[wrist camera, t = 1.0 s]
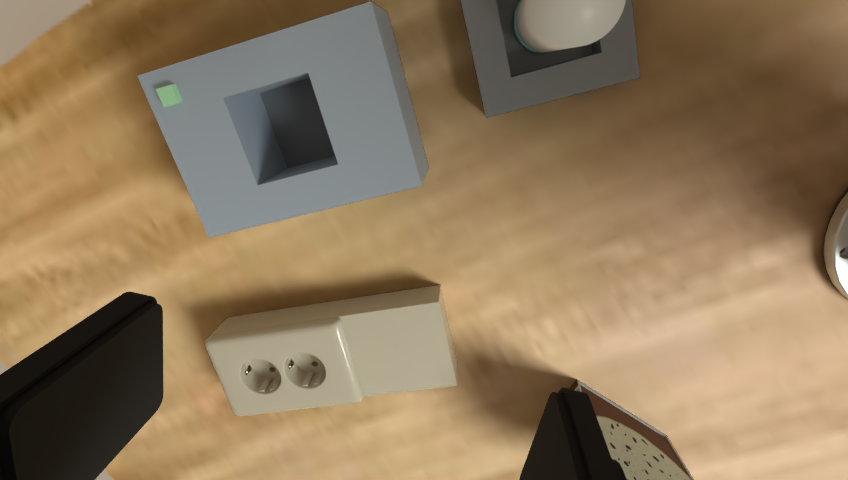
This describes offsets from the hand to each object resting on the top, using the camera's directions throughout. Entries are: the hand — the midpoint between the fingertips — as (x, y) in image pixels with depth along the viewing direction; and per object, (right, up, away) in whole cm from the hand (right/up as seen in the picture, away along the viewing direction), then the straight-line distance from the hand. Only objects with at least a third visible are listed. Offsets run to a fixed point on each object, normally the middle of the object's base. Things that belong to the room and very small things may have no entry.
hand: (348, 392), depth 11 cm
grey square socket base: (+9, +17, +18) cm, 26 cm away
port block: (-6, +12, +21) cm, 25 cm away
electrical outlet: (-5, -4, +27) cm, 28 cm away
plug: (+9, +17, +17) cm, 26 cm away
